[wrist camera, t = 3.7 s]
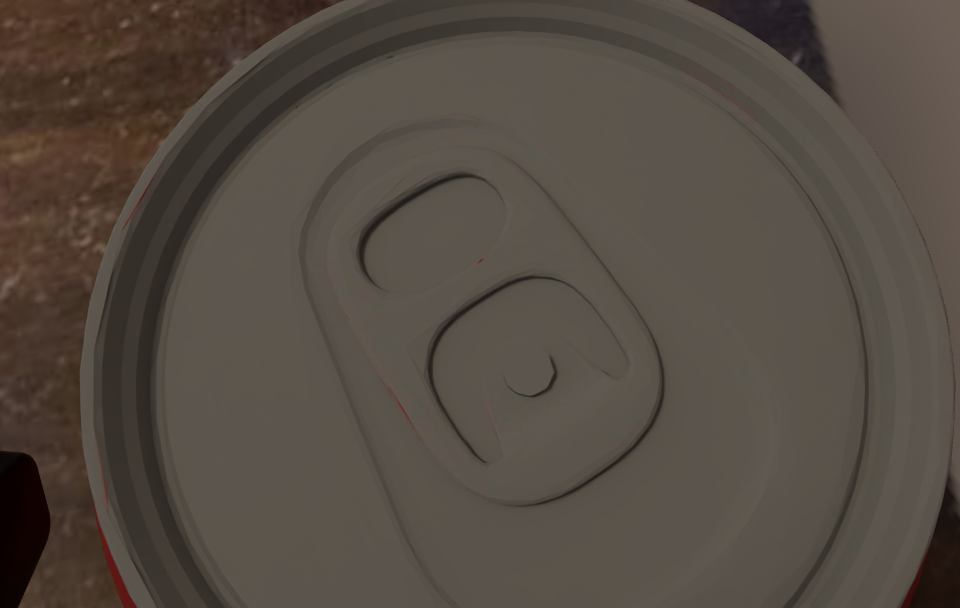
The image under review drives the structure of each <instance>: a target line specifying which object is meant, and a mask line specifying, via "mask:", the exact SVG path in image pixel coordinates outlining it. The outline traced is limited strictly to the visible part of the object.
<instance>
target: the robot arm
mask: <svg viewBox="0 0 960 608" xmlns="http://www.w3.org/2000/svg"><path fill="white" fill-rule="evenodd" d="M49 533H50V513H49V509H48V506H47V502H46V498H45V494H44V490H43V487H42V483H41V479H40V475H39V471H38V467H37V465H36V462H35V461H34V459H33V458H32V457H31V456H30V455H27V454H25V453H19V452H9V451H0V608H18V607H19V605H20V602H21V600H22V598H23V595H24V593H25V591H26V589H27V586H28V584H29V582H30V580H31V577H32V575H33V573H34V570H35V568H36V566H37V564H38V561H39V559H40V557H41V554H42V552H43V550H44V548H45V545H46V543H47V540H48V536H49Z"/></svg>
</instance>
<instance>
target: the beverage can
mask: <svg viewBox="0 0 960 608" xmlns="http://www.w3.org/2000/svg"><path fill="white" fill-rule="evenodd" d="M80 405H81V426H82V444H83V451H84V457H85V462H86V467H87V472H88V478H89V483H90V487H91V491H92V495H93V501H94V507H95V513H96V519H97V525H98V529H99V533H100V536H101V540H102V544H103V548H104V552H105V556H106V560H107V563H108V566H109V568H110V571H111V574H112V577H113V580H114V582H115V585H116V588H117V591H118V594H119V596H120V599H121V601H122V603H123V605H124V607H125V608H909V606H910V603H911V601H912V598H913V596H914V593H915V591H916V588H917V586H918V584H919V581H920V577H921V574H922V571H923V567H924V564H925V561H926V558H927V554H928V551H929V548H930V544H931V540H932V537H933V533H934V530H935V526H936V523H937V519H938V515H939V512H940V508H941V505H942V501H943V496H944V492H945V487H946V483H947V478H948V474H949V469H950V465H951V457H952V445H953V432H954V413H955V374H954V364H953V354H952V345H951V338H950V332H949V325H948V318H947V311H946V308H945V304H944V300H943V296H942V293H941V289H940V285H939V282H938V278H937V275H936V272H935V269H934V266H933V263H932V260H931V257H930V254H929V251H928V248H927V245H926V242H925V239H924V237H923V235H922V233H921V231H920V229H919V227H918V224H917V222H916V220H915V218H914V216H913V213H912V211H911V209H910V208H909V205H908V204H907V202H906V200H905V198H904V196H903V194H902V193H901V191H900V189H899V187H898V185H897V184H896V181H895V180H894V178H893V176H892V174H891V173H890V171H889V170H888V169H887V167H886V166H885V164H884V163H883V162H882V160H881V159H880V157H879V156H878V154H877V153H876V151H875V150H874V149H873V147H872V146H871V144H870V143H869V141H868V140H867V139H866V138H865V136H864V135H863V134H862V133H861V131H860V130H859V129H858V128H857V126H856V125H855V124H854V122H853V121H852V120H851V119H850V117H849V116H848V115H847V114H846V113H845V112H844V111H843V110H842V109H841V108H840V107H839V106H838V105H837V104H836V103H835V102H834V101H833V100H832V98H831V97H830V96H829V95H828V94H827V93H826V92H825V91H824V90H822V89H821V88H820V87H819V86H818V85H817V84H816V83H815V82H814V81H813V80H811V79H810V78H809V77H808V76H807V75H806V74H805V73H804V72H803V71H802V70H800V69H799V68H798V67H797V66H795V65H794V64H793V63H791V62H790V61H789V60H787V59H786V58H785V57H783V56H782V55H781V54H779V53H778V52H777V51H775V50H774V49H773V48H771V47H770V46H769V45H767V44H766V43H764V42H763V41H761V40H760V39H758V38H757V37H755V36H753V35H752V34H750V33H749V32H747V31H746V30H744V29H743V28H741V27H739V26H737V25H735V24H734V23H732V22H730V21H728V20H726V19H724V18H723V17H721V16H719V15H717V14H715V13H713V12H711V11H709V10H706V9H704V8H702V7H700V6H698V5H695V4H693V3H691V2H689V1H686V0H345V1H342V2H340V3H338V4H335V5H333V6H331V7H329V8H326V9H324V10H322V11H320V12H318V13H316V14H315V15H313V16H311V17H309V18H307V19H305V20H303V21H301V22H300V23H298V24H296V25H294V26H292V27H290V28H289V29H287V30H286V31H284V32H283V33H281V34H280V35H278V36H277V37H275V38H274V39H272V40H270V41H269V42H267V43H266V44H264V45H263V46H261V47H260V48H259V49H257V50H256V51H255V52H253V53H252V54H251V55H249V56H248V57H247V58H245V59H244V60H243V61H241V62H240V63H239V64H237V65H236V66H235V67H234V68H233V69H231V70H230V71H229V72H228V73H227V74H226V75H225V76H224V77H222V78H221V79H220V80H219V81H218V82H217V83H216V84H215V85H213V86H212V87H211V88H210V90H209V91H208V92H207V93H206V94H205V95H204V96H203V97H202V98H201V99H200V100H199V101H198V102H197V103H196V104H195V105H194V106H193V107H192V108H191V109H190V110H189V111H188V112H187V113H186V114H185V116H184V117H183V118H182V119H181V121H180V122H179V123H178V124H177V125H176V127H175V128H174V129H173V130H172V132H171V133H170V134H169V135H168V137H167V138H166V139H165V141H164V142H163V144H162V145H161V146H160V148H159V149H158V151H157V152H156V153H155V155H154V156H153V158H152V159H151V161H150V162H149V163H148V165H147V166H146V168H145V169H144V171H143V173H142V175H141V176H140V178H139V180H138V182H137V183H136V185H135V187H134V189H133V190H132V192H131V194H130V196H129V198H128V200H127V202H126V204H125V206H124V208H123V210H122V212H121V214H120V216H119V218H118V220H117V222H116V225H115V227H114V229H113V231H112V233H111V236H110V239H109V242H108V245H107V247H106V250H105V253H104V256H103V259H102V262H101V265H100V268H99V272H98V275H97V278H96V282H95V285H94V289H93V292H92V295H91V299H90V304H89V310H88V316H87V322H86V328H85V334H84V343H83V351H82V359H81V368H80Z"/></svg>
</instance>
